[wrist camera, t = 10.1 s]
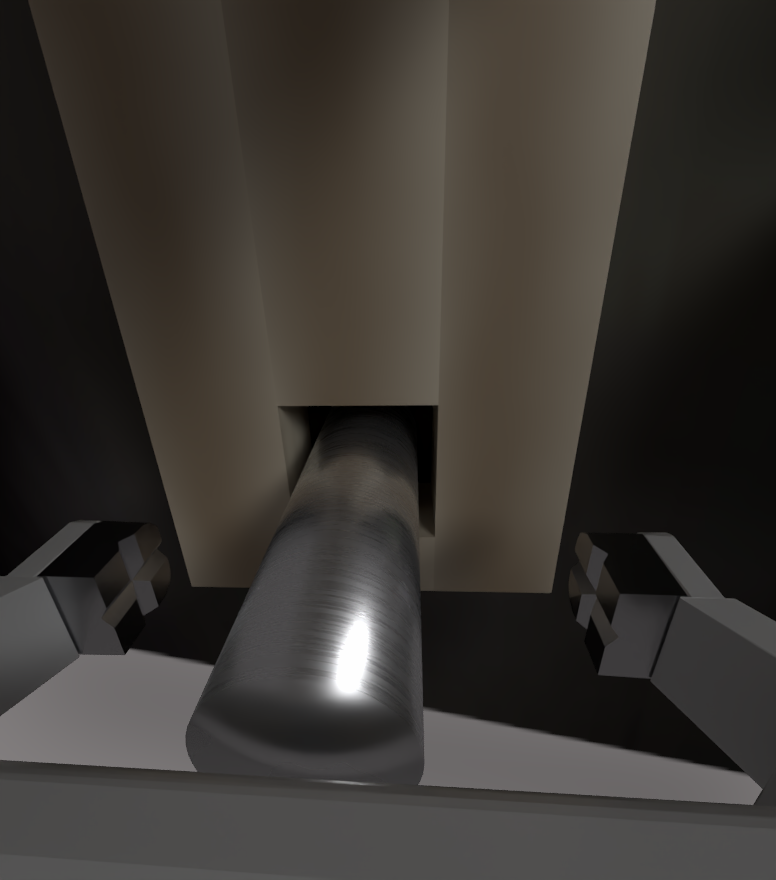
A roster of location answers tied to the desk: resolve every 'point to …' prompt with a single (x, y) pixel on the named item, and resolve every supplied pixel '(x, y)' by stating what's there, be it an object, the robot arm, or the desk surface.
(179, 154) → the socket station
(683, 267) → the desk surface
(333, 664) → the peg
